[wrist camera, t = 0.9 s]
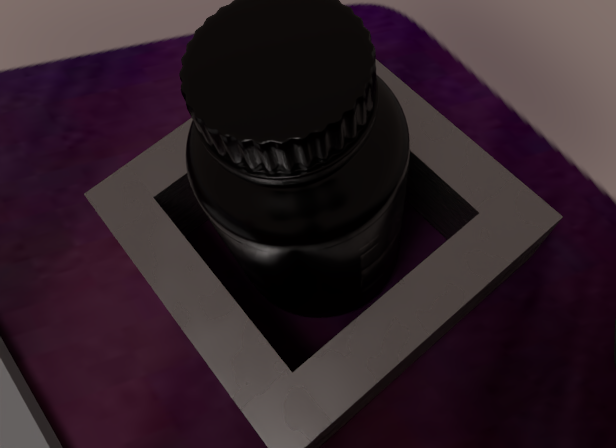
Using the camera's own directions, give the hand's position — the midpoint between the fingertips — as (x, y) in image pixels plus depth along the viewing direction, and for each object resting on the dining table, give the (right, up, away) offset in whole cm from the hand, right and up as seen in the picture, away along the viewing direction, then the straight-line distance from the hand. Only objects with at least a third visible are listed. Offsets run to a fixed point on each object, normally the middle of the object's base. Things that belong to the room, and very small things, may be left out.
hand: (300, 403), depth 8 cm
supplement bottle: (+1, +1, +16) cm, 17 cm away
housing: (+1, +2, +16) cm, 16 cm away
